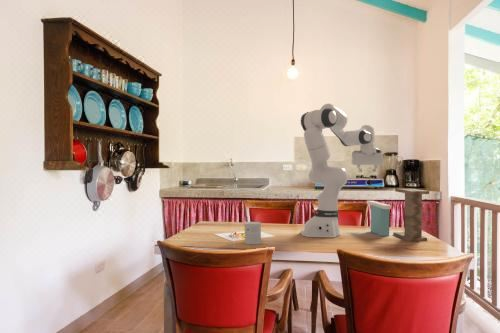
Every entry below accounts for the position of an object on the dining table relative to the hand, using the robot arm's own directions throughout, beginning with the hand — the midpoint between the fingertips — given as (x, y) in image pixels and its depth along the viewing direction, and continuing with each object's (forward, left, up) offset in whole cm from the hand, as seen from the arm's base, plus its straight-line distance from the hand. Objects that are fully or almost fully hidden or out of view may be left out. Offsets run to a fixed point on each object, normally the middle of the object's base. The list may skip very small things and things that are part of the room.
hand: (367, 171), depth 212 cm
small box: (-79, -38, -35) cm, 95 cm away
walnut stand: (+8, -36, -35) cm, 51 cm away
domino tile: (-3, -21, -20) cm, 29 cm away
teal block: (-3, -23, -35) cm, 42 cm away
